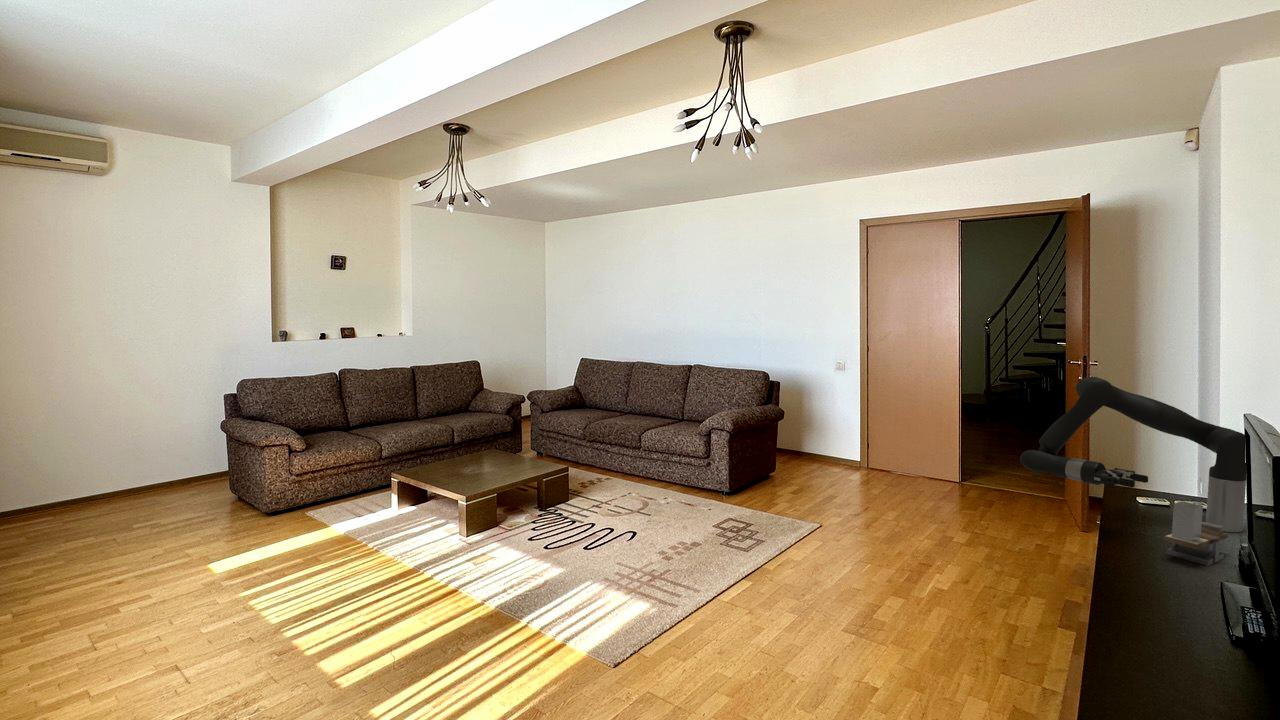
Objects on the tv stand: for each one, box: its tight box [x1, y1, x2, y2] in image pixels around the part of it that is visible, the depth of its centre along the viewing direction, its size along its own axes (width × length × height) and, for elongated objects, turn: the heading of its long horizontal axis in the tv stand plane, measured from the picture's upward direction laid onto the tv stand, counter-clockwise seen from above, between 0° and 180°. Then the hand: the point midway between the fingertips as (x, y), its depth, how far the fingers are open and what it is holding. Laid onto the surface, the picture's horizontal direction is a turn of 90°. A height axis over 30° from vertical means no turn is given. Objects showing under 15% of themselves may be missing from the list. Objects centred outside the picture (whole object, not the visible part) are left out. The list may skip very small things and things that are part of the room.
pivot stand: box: [1166, 540, 1225, 567], centre depth 192 cm, size 10×10×6 cm
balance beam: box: [1163, 521, 1229, 549], centre depth 191 cm, size 20×8×3 cm, turn 119°
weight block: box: [1171, 501, 1204, 542], centre depth 188 cm, size 5×5×10 cm
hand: (1141, 481), depth 203 cm, fingers open, 8 cm apart
